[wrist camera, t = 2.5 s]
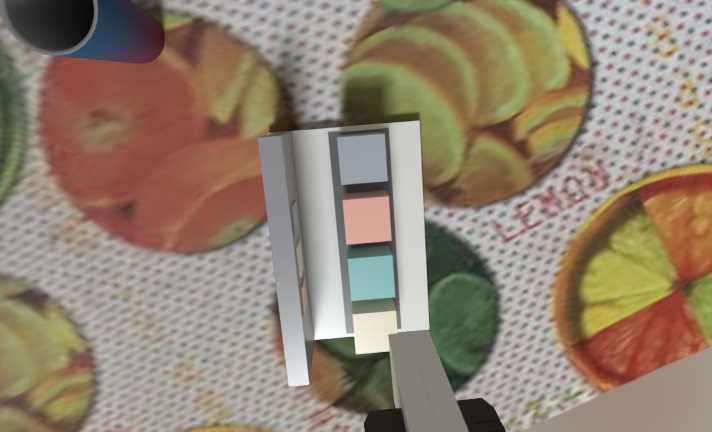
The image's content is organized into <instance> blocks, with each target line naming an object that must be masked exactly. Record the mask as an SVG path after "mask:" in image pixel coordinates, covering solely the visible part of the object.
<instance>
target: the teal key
mask: <svg viewBox="0 0 712 432" xmlns="http://www.w3.org/2000/svg"><path fill="white" fill-rule="evenodd" d="M347 256H348V268H349V280H350V291H351V301H357V300H369V299H380V298H391V297H395V285H394V270H393V255H392V252H391V250H390V247H389V245H385V246H374V247H362V248H351V249H347Z"/></svg>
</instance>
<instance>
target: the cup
mask: <svg viewBox="0 0 712 432" xmlns="http://www.w3.org/2000/svg"><path fill="white" fill-rule="evenodd" d="M0 13H1V16H2V19H3V21H4V23H5V24H6V26H7V28H8V29H9V31H10V32H11V33H12V34H13V36H14V37H15V38H16V39H17V40H19V41H20V42H21V43H22V44H23V45H25V46H26V47H28V48H29V49H31V50H33V51H36V52H38V53H41V54H45V55H50V56H61V57H72V58H84V59H95V60H107V61H118V62H130V63H148V62H151V61H153V60H154V59H156V58H157V57H158V56H159V55H160V53H161V52H162V50H163V46H164V33H163V30H162V28H161V26H160V24H159V23H158V21H157V20H156V19H155V18H154V17H152V16H151V15H150V14H148V13H147V12H145V11H144V10H142V9H141V8H139V7H138V6H136V5H135V4H134V3H132V2H131V1H129V0H0Z"/></svg>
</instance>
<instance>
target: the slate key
mask: <svg viewBox="0 0 712 432" xmlns="http://www.w3.org/2000/svg"><path fill="white" fill-rule="evenodd" d="M337 143H338V154H339V166H340V177H341V185H347V184H358V183H370V182H382V181H388V177H387V161H386V145H385V134H384V133H382V132H376V133H364V134H352V135H340V136H337Z"/></svg>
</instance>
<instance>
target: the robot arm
mask: <svg viewBox="0 0 712 432" xmlns="http://www.w3.org/2000/svg"><path fill="white" fill-rule="evenodd" d="M388 338H389V349H390V360H391V371H392V383H393V394H394V402H395V407H396V408H395V409H385V410H376V411H370V412H369V414H368V416H367V418H366V420H365V422H364V429H365V432H505V428H504V426H503V425H502V423H501V422H500V419H499V417H498V415H497V413H496V411H495V409H494V407H492V406H491V405H490V404H489V403H487V402H486V401H485V400H484V399H482V398H477V399H467V400H458V401H456V399H455V396H454V394H453V391H452V389H451V386H450V384H449V381H448V379H447V376H446V374H445V371H444V369H443V366H442V364H441V361H440V359H439V356H438V354H437V351H436V349H435V346H434V344H433V341H432V339H431V336H430V334H429V331H428V330H425V331H415V332H406V333H396V334H388Z"/></svg>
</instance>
